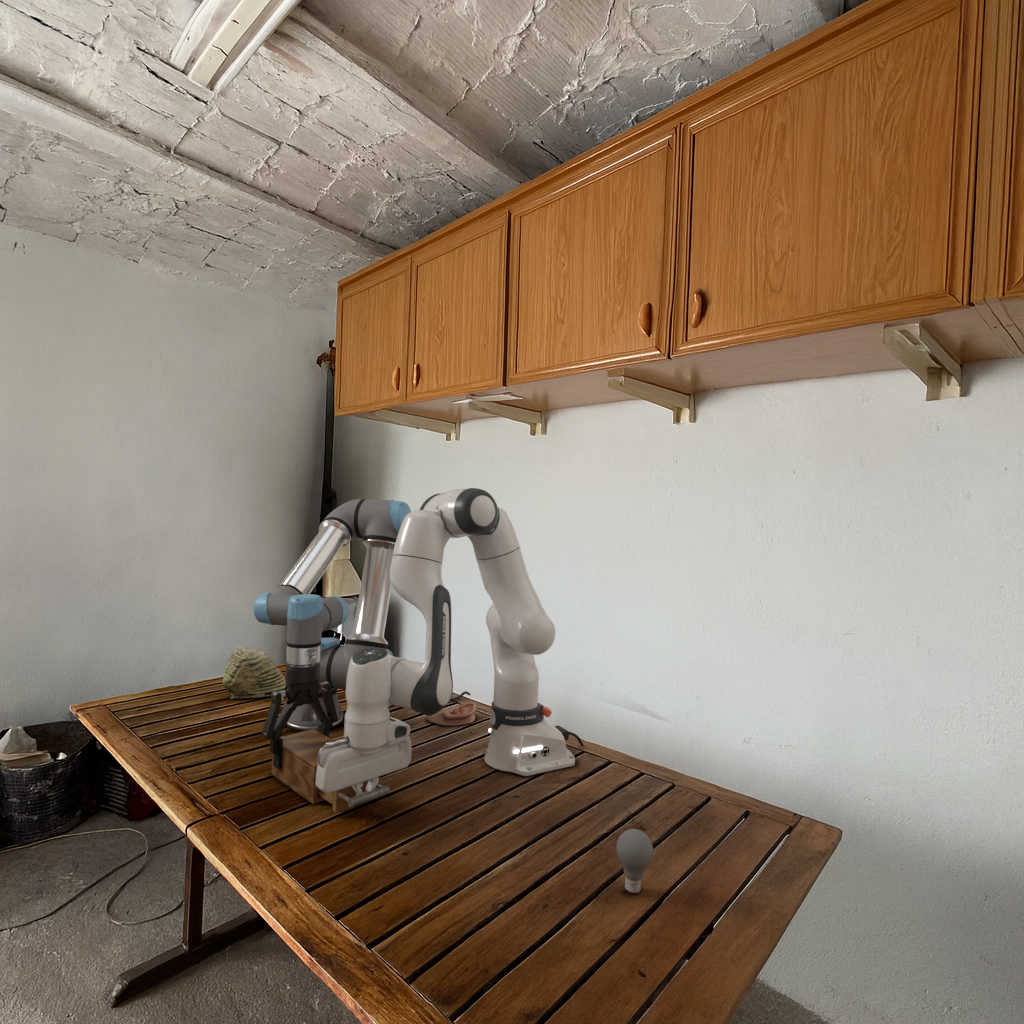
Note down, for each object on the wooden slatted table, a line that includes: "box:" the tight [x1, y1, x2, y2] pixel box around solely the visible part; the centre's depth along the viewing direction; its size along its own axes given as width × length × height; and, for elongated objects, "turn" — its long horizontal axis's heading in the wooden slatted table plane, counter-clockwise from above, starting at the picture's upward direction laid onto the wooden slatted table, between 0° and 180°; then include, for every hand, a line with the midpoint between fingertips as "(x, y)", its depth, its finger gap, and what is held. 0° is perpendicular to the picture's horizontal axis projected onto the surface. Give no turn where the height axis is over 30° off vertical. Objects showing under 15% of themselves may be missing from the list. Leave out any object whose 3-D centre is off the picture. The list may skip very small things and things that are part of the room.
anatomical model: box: [426, 702, 477, 726], centre depth 183 cm, size 13×4×12 cm
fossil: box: [222, 646, 286, 699], centre depth 198 cm, size 9×18×15 cm, turn 132°
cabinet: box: [271, 729, 335, 805], centre depth 140 cm, size 19×10×8 cm, turn 46°
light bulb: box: [615, 828, 654, 894], centre depth 106 cm, size 6×6×10 cm
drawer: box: [317, 780, 391, 814], centre depth 133 cm, size 23×9×6 cm, turn 46°
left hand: (300, 760), depth 144 cm, fingers closed on cabinet, 10 cm apart
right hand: (364, 800), depth 127 cm, fingers closed, pressing on drawer
